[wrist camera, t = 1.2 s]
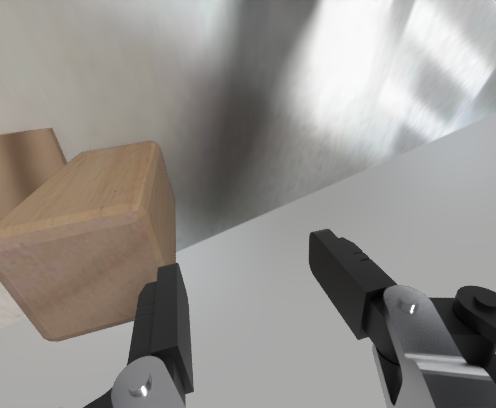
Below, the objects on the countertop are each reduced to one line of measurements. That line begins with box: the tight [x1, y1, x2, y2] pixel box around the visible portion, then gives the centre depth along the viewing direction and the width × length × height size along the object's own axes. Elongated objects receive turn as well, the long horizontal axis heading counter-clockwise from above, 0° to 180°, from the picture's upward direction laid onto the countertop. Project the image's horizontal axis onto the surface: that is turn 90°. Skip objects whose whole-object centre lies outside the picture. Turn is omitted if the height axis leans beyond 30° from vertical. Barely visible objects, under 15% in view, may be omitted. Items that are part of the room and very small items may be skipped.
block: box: [0, 141, 176, 341], centre depth 27 cm, size 10×10×20 cm
